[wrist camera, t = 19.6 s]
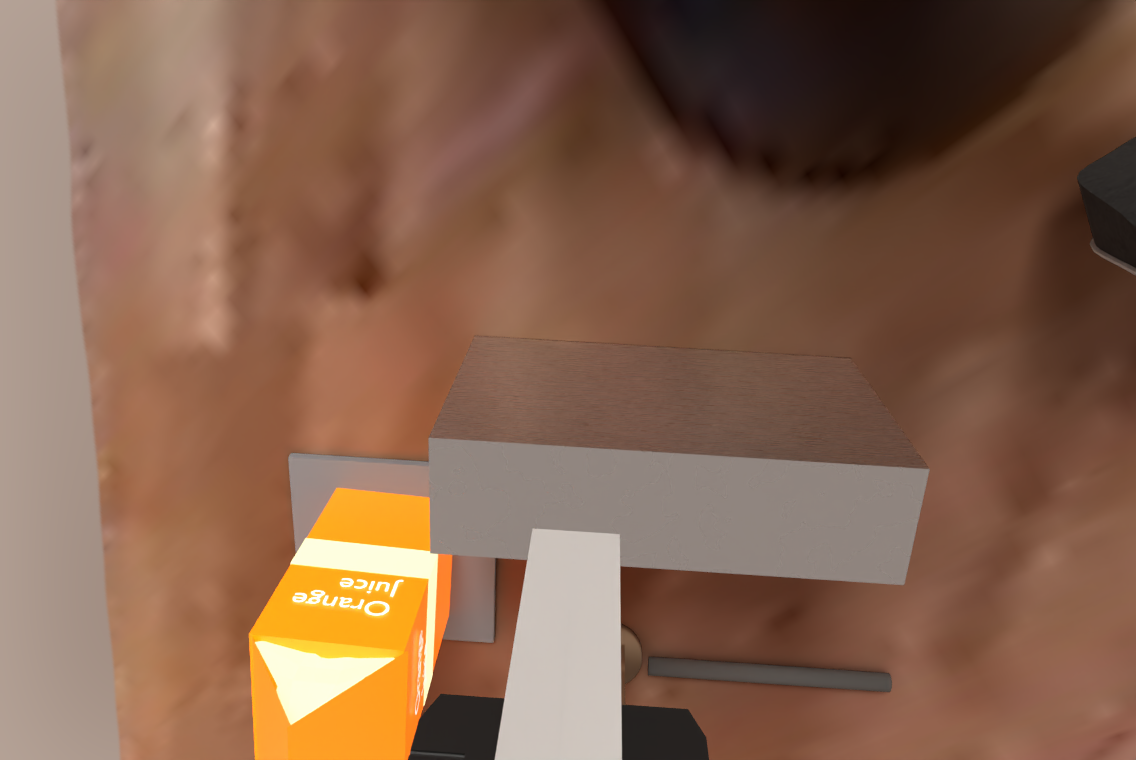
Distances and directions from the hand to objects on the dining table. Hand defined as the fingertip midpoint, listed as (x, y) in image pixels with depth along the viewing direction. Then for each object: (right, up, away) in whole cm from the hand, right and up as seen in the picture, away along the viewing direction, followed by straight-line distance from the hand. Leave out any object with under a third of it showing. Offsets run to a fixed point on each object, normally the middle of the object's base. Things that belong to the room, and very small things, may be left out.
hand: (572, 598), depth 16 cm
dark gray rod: (+13, -16, +45) cm, 49 cm away
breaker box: (+5, +3, +38) cm, 38 cm away
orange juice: (-11, -7, +42) cm, 44 cm away
